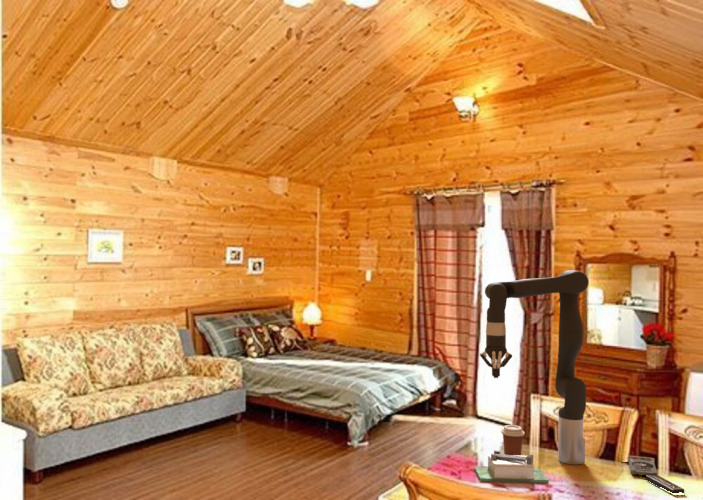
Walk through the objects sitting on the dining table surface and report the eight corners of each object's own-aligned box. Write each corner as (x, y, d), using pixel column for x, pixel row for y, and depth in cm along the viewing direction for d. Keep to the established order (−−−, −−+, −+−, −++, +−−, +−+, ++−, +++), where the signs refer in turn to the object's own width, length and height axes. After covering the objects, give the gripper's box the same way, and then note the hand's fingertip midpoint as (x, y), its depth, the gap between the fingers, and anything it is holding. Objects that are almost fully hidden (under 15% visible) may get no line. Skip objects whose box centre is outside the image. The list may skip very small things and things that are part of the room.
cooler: (538, 470, 225) (538, 448, 225) (548, 483, 212) (548, 459, 212) (474, 469, 225) (474, 446, 225) (480, 481, 213) (480, 457, 213)
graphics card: (621, 453, 237) (655, 457, 232) (621, 463, 237) (655, 466, 232) (622, 467, 221) (659, 471, 217) (623, 478, 221) (659, 482, 217)
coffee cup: (524, 462, 234) (524, 431, 234) (500, 459, 237) (500, 429, 237) (524, 454, 243) (524, 425, 243) (501, 452, 246) (501, 423, 246)
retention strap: (493, 458, 220) (493, 455, 220) (495, 455, 223) (495, 453, 223) (525, 461, 215) (524, 459, 215) (526, 459, 217) (526, 456, 218)
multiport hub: (656, 480, 217) (656, 474, 217) (685, 496, 203) (685, 489, 203) (645, 481, 217) (645, 474, 217) (673, 496, 202) (673, 490, 202)
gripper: (480, 334, 232) (480, 379, 232) (515, 334, 232) (515, 379, 232) (477, 332, 240) (477, 375, 240) (510, 332, 240) (510, 375, 239)
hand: (495, 377), depth 236 cm, fingers closed
